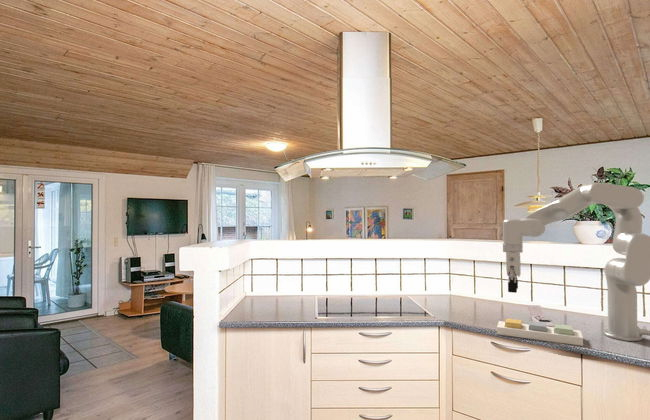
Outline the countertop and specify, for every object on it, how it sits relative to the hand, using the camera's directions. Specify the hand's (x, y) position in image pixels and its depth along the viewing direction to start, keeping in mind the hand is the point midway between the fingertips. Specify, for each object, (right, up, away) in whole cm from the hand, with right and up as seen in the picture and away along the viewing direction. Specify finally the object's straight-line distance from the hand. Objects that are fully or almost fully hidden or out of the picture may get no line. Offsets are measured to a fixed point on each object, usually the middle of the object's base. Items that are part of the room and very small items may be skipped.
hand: (513, 290), depth 163 cm
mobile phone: (+19, -18, +13) cm, 29 cm away
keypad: (+8, -18, -4) cm, 20 cm away
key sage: (+16, -15, -9) cm, 24 cm away
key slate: (+8, -15, -4) cm, 18 cm away
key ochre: (0, -15, 0) cm, 15 cm away
